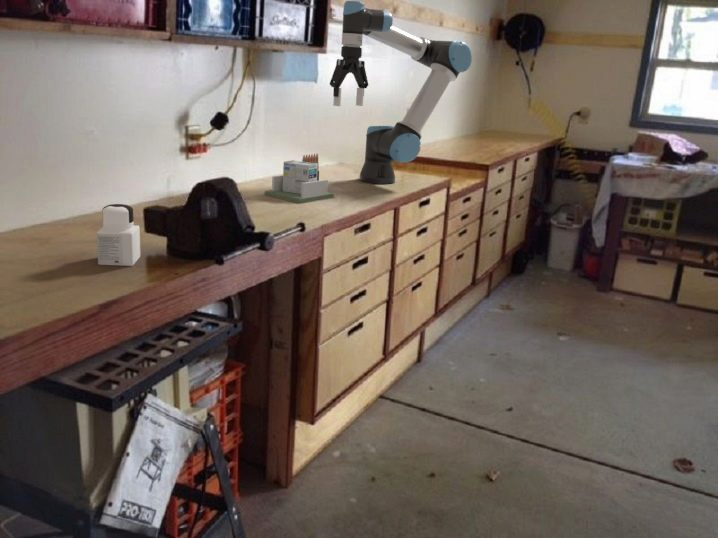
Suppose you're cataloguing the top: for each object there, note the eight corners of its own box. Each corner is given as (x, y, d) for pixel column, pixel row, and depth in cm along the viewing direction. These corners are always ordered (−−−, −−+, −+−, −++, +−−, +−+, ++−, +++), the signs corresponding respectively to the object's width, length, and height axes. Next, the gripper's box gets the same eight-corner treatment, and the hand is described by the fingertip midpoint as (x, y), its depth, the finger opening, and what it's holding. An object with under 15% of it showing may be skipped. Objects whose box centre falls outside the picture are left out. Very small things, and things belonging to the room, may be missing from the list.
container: (107, 255, 159) (104, 201, 155) (140, 256, 159) (139, 203, 155) (97, 265, 151) (95, 208, 147) (133, 266, 152) (131, 210, 148)
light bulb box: (317, 193, 242) (318, 163, 239) (308, 195, 236) (309, 165, 233) (291, 189, 246) (292, 159, 243) (281, 191, 240) (282, 161, 237)
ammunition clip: (303, 186, 261) (304, 155, 258) (299, 185, 262) (300, 154, 259) (318, 183, 270) (320, 153, 266) (315, 182, 271) (316, 152, 267)
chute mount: (299, 189, 254) (299, 172, 252) (333, 197, 244) (334, 179, 242) (264, 195, 240) (265, 176, 238) (300, 203, 230) (300, 184, 228)
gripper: (338, 44, 234) (334, 107, 240) (380, 48, 253) (375, 106, 259) (321, 43, 238) (319, 105, 244) (364, 47, 257) (360, 104, 263)
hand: (348, 105), depth 252 cm, fingers open, 13 cm apart
